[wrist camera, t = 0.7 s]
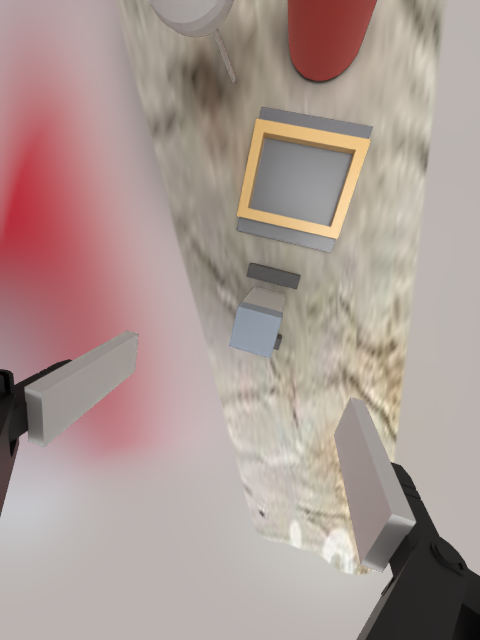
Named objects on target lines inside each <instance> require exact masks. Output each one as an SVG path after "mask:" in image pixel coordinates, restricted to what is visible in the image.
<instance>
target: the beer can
mask: <svg viewBox="0 0 480 640" xmlns="http://www.w3.org/2000/svg"><path fill="white" fill-rule="evenodd" d="M376 2H377V0H288V30H289V49H290V55H291V60H292V62H293V63H294V65H295V67H296V69H297V70H298V71H299V72H300V73H301V74H302V75H303V76H304V77H306V78H308V79H311V80H314V81H323V80H328V79H331V78H333V77H335V76H338V75H339V74H340V73H341V72H343V71H344V70H345V69H346V68H347V67H349V65H350V64H351V62H352V61H353V60H354V58H355V57H356V56H357V54H358V51H359V49H360V46H361V44H362V42H363V39H364V36H365V33H366V30H367V28H368V25H369V22H370V19H371V16H372V13H373V10H374V8H375V5H376Z"/></svg>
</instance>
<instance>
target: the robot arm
mask: <svg viewBox="0 0 480 640" xmlns="http://www.w3.org/2000/svg"><path fill="white" fill-rule="evenodd" d="M137 345H138V333H135V332H131V331H128V330H127V331H125V332H123V333H122V334H120V335H118V336H116V337H114V338H113V339H111V340H109V341H107V342H105V343H104V344H102V345H100V346H98V347H96V348H94V349H93V350H91V351H89V352H87V353H85V354H84V355H82V356H80V357H78V358H76V359H75V360H70V359H69V360H65V361H61V362H58V363H56V364H54V365H52V366H50V367H48V368H47V369H44V370H42V371H40V372H39V373H37V374H35V375H33V376H31V377H29V378H27V379H25V380H23V381H21V382H19V383H18V384H16V385H14V378H13V373H12V372H10V371H8V370H3V369H0V516H1V512H2V508H3V504H4V500H5V496H6V492H7V489H8V484H9V481H10V477H11V473H12V469H13V466H14V462H15V458H16V454H17V450H18V446H19V436H21V435H22V434H23V433H25V432H26V431H28V441H29V442H32V443H34V444H37V445H40V446H42V447H45V446H46V445H48V444H49V443H50V442H51V441H52V440H54V439H55V438H56V437H57V436H58V435H60V433H62V432H63V431H64V430H65V429H67V428H68V427H69V426H70V425H71V424H73V423H74V422H75V421H76V420H77V419H79V418H80V417H81V416H82V415H83V414H85V413H86V412H87V411H88V410H89V409H91V408H92V407H93V406H94V405H95V404H96V403H98V402H99V401H100V400H101V399H102V398H104V397H105V396H106V395H107V394H108V393H110V392H111V391H112V390H113V389H114V388H115V387H117V386H118V385H119V384H120V383H122V382H123V381H124V380H125V379H126V378H128V377H129V376H130V375H131V374H132V373H134V372H135V366H136V355H137ZM334 437H335V442H336V447H337V452H338V457H339V462H340V467H341V471H342V476H343V481H344V486H345V491H346V496H347V501H348V506H349V511H350V515H351V520H352V525H353V530H354V535H355V540H356V545H357V550H358V554H359V559H360V564H361V565H363V566H366V567H368V568H371V569H374V570H376V571H379V572H383V571H384V569H385V568H386V566H387V565H388V563H390V566H391V570H392V573H393V577H392V579H391V580H390V582H389V583H388V585H387V586H386V587H385V589H384V590H383V592H382V593H381V595H382V596H381V598H380V599H379V601H378V603H377V605H376V606H375V608H374V610H373V612H372V613H371V615H370V617H369V619H368V620H367V622H366V624H365V626H364V627H363V629H362V631H361V633H360V634H359V636H358V638H357V640H480V576H479V575H477V574H476V573H474V572H472V571H471V570H470V569H468V567H467V565H466V563H465V561H464V560H463V558H462V557H461V555H460V554H459V553H458V552H457V551H456V550H455V549H454V548H453V547H452V546H451V545H450V544H449V543H448V542H447V541H445V540H444V539H443V538H441V537H440V536H439V534H438V532H437V530H436V528H435V526H434V524H433V522H432V520H431V518H430V516H429V514H428V512H427V510H426V508H425V506H424V504H423V502H422V501H421V498H420V495H419V493H418V491H416V487H415V485H414V483H413V481H412V479H411V477H410V476H409V475H408V473H407V472H406V471H405V470H404V469H403V467H402V466H401V465H398V464H395V463H392V462H390V460H389V458H388V455H387V453H386V451H385V448H384V446H383V444H382V441H381V439H380V437H379V434H378V432H377V430H376V427H375V425H374V423H373V421H372V418H371V416H370V414H369V411H368V409H367V407H366V404H365V402H364V401H362V400H359V399H356V398H352V397H350V399H349V401H348V404H347V406H346V408H345V410H344V413H343V415H342V417H341V420H340V422H339V424H338V426H337V429H336V431H335V433H334Z"/></svg>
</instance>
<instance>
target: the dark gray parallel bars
mask: <svg viewBox="0 0 480 640" xmlns="http://www.w3.org/2000/svg"><path fill="white" fill-rule="evenodd" d="M247 277H250V278H254V279H258V280H262V281H266V282H270V283H274V284H277V285H281V286H285V287H289V288H293V289H297V286H298V283H299V280H300V275H298V274H294V273H290V272H286V271H282V270H278V269H274V268H270V267H266V266H263V265H259V264H255V263H250V264H249V268H248V273H247ZM281 339H282V335H279V334H277V337H276V341H275V344H274V347H273V349H275V350H278V349H279V346H280V343H281Z"/></svg>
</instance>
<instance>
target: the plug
mask: <svg viewBox="0 0 480 640" xmlns="http://www.w3.org/2000/svg"><path fill="white" fill-rule="evenodd" d="M284 302H285V294H281V293H277V292H273V291H269V290H266V289H262V288H258V287H253V289H252V290H251V291H250V292H249V293H248V295H247V296H246V297H245V298H244V300H243V301H242V302H241V303H240V305H239V306H238V308H237V313H236V317H235V322H234V326H233V330H232V335H231V339H230V343H229V347H233V348H236V349H240V350H243V351H247V352H250V353H253V354H257V355H260V356H264V357H267V358H271V354H272V351H273V347H274V344H275V341H276V337H277V334H278V330H279V327H280V324H281V320H282V315H283V309H284Z"/></svg>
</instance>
